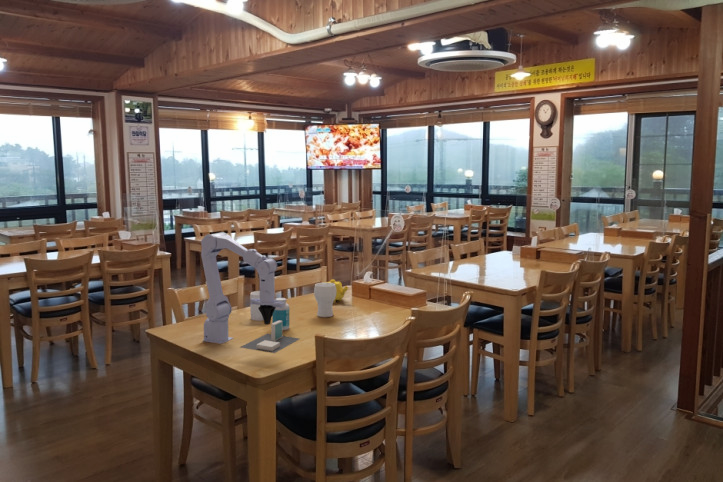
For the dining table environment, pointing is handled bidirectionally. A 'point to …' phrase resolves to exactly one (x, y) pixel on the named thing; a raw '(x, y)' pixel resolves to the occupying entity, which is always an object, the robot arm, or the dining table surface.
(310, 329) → the dining table surface
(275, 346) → the tile
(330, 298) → the cup
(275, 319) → the pill bottle
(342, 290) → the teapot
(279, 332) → the tile
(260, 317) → the vase
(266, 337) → the mat
